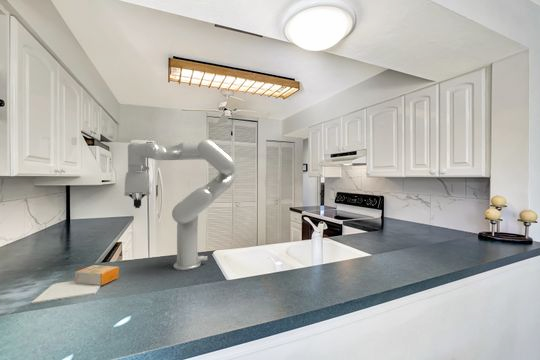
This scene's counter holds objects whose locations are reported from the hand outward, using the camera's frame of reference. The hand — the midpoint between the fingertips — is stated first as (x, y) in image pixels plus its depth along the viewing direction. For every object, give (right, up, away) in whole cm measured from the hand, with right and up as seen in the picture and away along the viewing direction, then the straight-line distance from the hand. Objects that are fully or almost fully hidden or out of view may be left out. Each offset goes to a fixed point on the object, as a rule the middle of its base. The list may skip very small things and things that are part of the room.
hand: (137, 207), depth 113 cm
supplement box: (-1, -26, -16) cm, 31 cm away
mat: (-12, -29, -22) cm, 38 cm away
